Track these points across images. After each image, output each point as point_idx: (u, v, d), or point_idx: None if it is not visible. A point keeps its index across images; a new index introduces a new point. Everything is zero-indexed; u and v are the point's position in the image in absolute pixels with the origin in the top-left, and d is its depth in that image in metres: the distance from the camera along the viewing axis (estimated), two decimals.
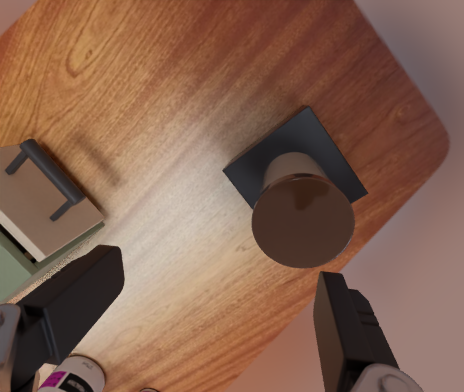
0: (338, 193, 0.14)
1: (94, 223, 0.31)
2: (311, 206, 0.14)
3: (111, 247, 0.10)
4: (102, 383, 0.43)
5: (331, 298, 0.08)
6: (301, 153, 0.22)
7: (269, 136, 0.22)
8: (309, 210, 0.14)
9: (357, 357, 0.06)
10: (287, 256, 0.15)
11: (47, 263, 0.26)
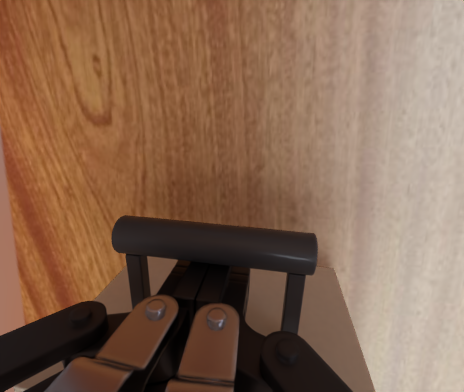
0: None
1: (338, 289, 0.13)
2: None
3: None
4: None
5: None
6: None
7: None
8: None
9: (207, 300, 0.08)
10: None
11: None
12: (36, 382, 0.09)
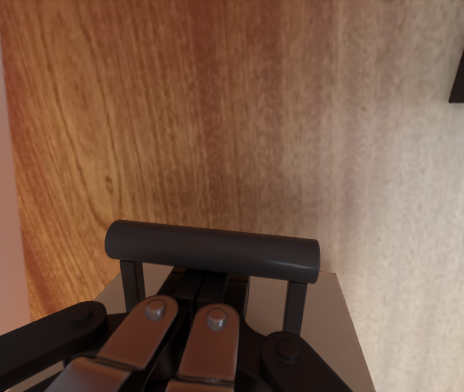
0: None
1: (340, 295, 0.13)
2: None
3: None
4: None
5: None
6: None
7: None
8: None
9: (207, 300, 0.08)
10: None
11: None
12: None
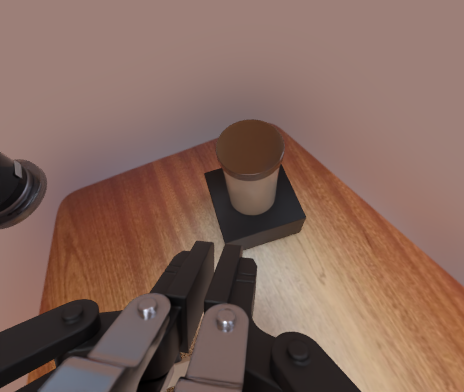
0: (234, 124, 0.23)
1: None
2: (238, 138, 0.22)
3: (209, 243, 0.11)
4: None
5: (220, 262, 0.10)
6: None
7: (213, 200, 0.30)
8: (240, 139, 0.22)
9: (215, 300, 0.08)
10: (271, 158, 0.21)
11: None
12: None
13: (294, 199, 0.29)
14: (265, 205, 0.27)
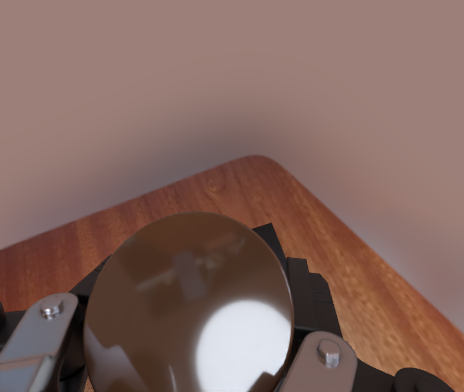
0: (152, 226, 0.08)
1: None
2: (155, 276, 0.07)
3: None
4: None
5: (291, 279, 0.09)
6: None
7: None
8: (161, 282, 0.07)
9: (304, 327, 0.07)
10: (252, 369, 0.06)
11: None
12: None
13: None
14: None
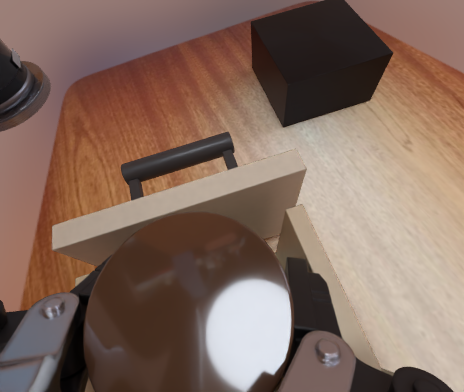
0: (152, 226, 0.08)
1: None
2: (154, 276, 0.07)
3: None
4: None
5: (290, 279, 0.09)
6: None
7: (266, 45, 0.23)
8: (160, 282, 0.07)
9: (303, 326, 0.07)
10: (252, 369, 0.06)
11: None
12: None
13: (374, 36, 0.22)
14: None
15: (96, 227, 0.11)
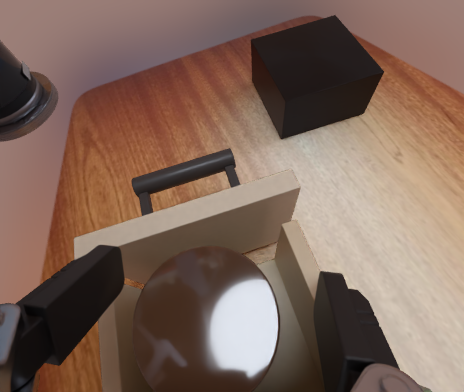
0: (178, 256, 0.11)
1: None
2: (181, 294, 0.10)
3: (111, 247, 0.10)
4: None
5: (331, 298, 0.08)
6: None
7: (265, 63, 0.24)
8: (186, 299, 0.10)
9: (357, 357, 0.06)
10: (250, 361, 0.09)
11: None
12: None
13: (366, 56, 0.24)
14: None
15: (113, 240, 0.13)
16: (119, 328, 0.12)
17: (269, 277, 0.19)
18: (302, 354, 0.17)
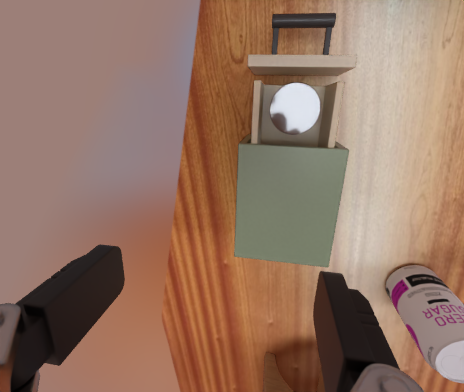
0: (293, 84, 0.29)
1: None
2: (289, 98, 0.29)
3: (111, 247, 0.10)
4: (435, 274, 0.43)
5: (331, 298, 0.08)
6: None
7: None
8: (290, 100, 0.29)
9: (357, 357, 0.06)
10: (304, 126, 0.30)
11: (344, 147, 0.32)
12: (254, 55, 0.30)
13: None
14: None
15: (265, 62, 0.29)
16: (259, 100, 0.31)
17: (318, 94, 0.37)
18: (315, 132, 0.38)
